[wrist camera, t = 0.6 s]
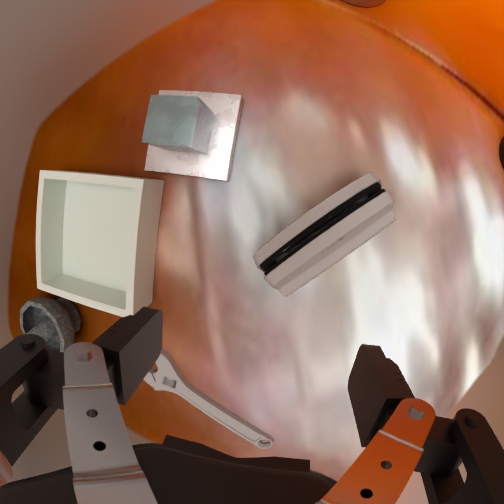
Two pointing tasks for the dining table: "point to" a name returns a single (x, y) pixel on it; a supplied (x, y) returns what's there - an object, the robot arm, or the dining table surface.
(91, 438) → the robot arm
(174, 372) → the adjustable wrench
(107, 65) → the dining table surface
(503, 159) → the supplement bottle
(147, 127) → the grey rectangular block
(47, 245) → the bin
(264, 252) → the napkin holder
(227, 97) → the stud plate
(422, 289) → the dining table surface
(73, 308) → the mortar and pestle
